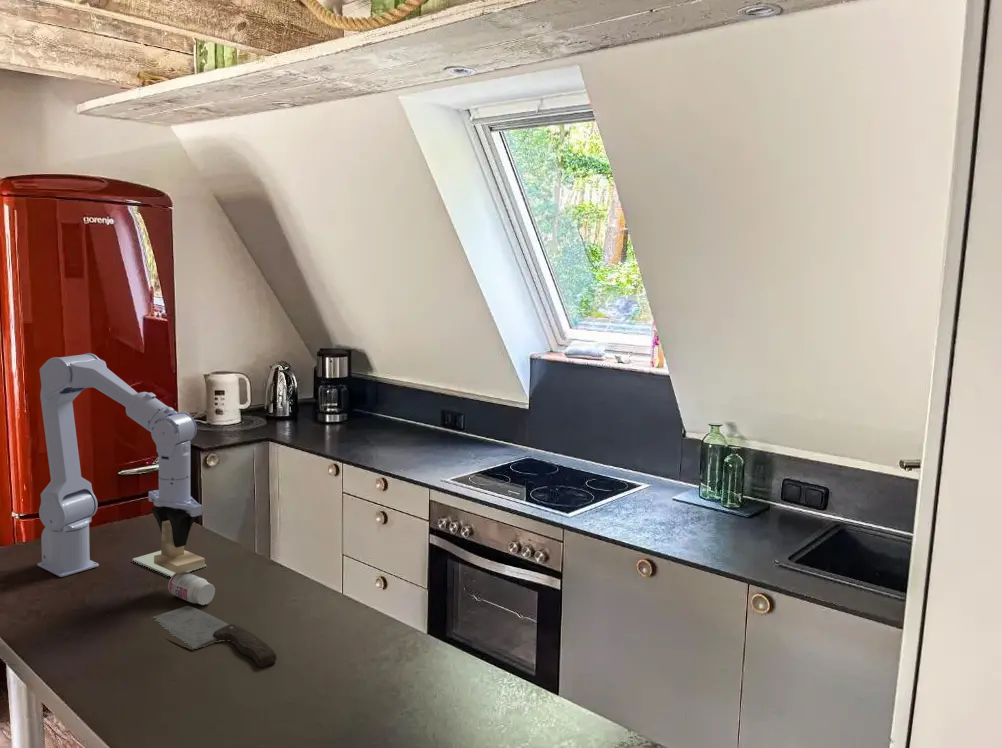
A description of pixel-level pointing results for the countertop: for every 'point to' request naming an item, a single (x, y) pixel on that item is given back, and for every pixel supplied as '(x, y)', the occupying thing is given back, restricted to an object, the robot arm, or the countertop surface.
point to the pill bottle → (191, 588)
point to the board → (149, 562)
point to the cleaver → (214, 633)
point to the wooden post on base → (175, 554)
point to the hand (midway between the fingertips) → (174, 543)
